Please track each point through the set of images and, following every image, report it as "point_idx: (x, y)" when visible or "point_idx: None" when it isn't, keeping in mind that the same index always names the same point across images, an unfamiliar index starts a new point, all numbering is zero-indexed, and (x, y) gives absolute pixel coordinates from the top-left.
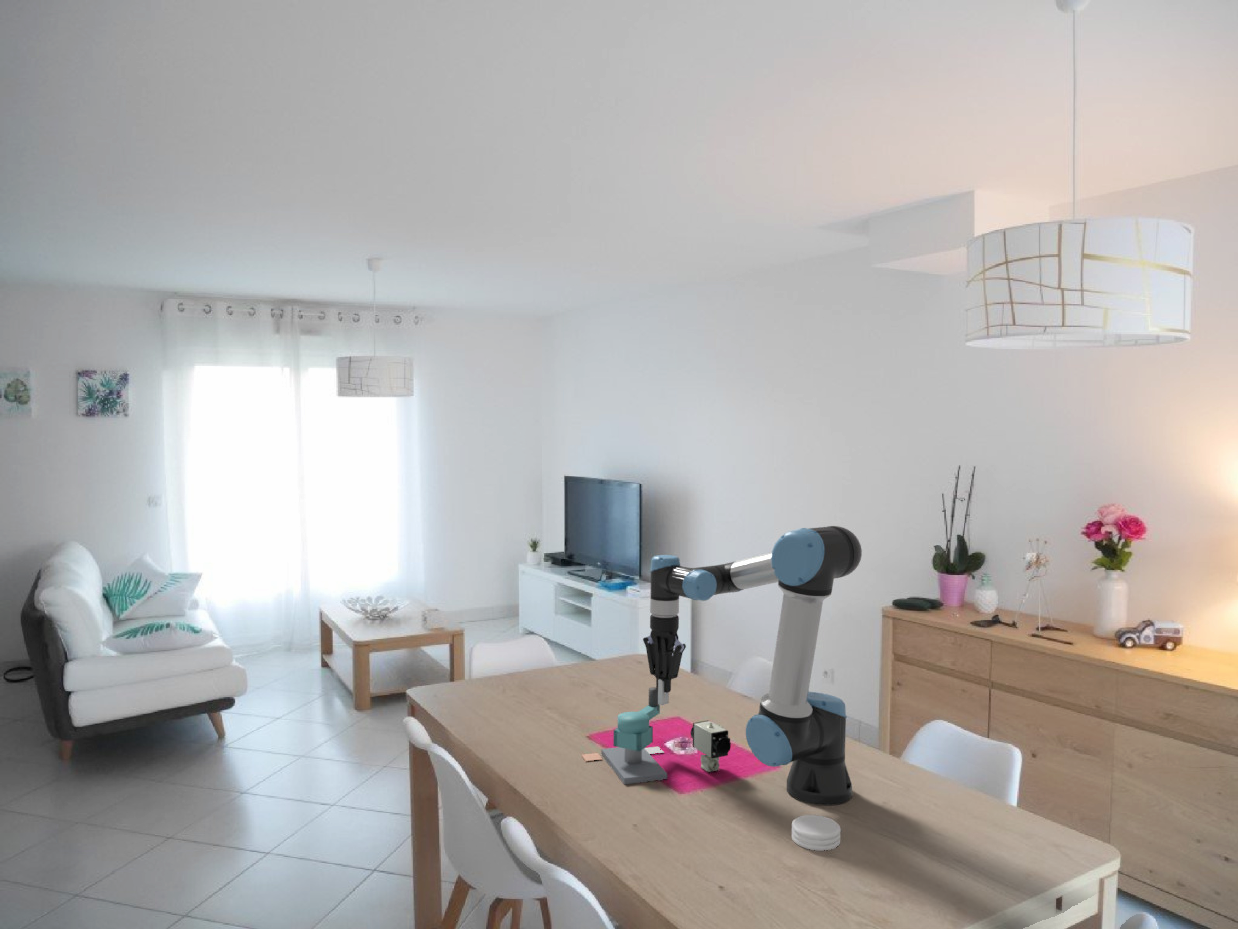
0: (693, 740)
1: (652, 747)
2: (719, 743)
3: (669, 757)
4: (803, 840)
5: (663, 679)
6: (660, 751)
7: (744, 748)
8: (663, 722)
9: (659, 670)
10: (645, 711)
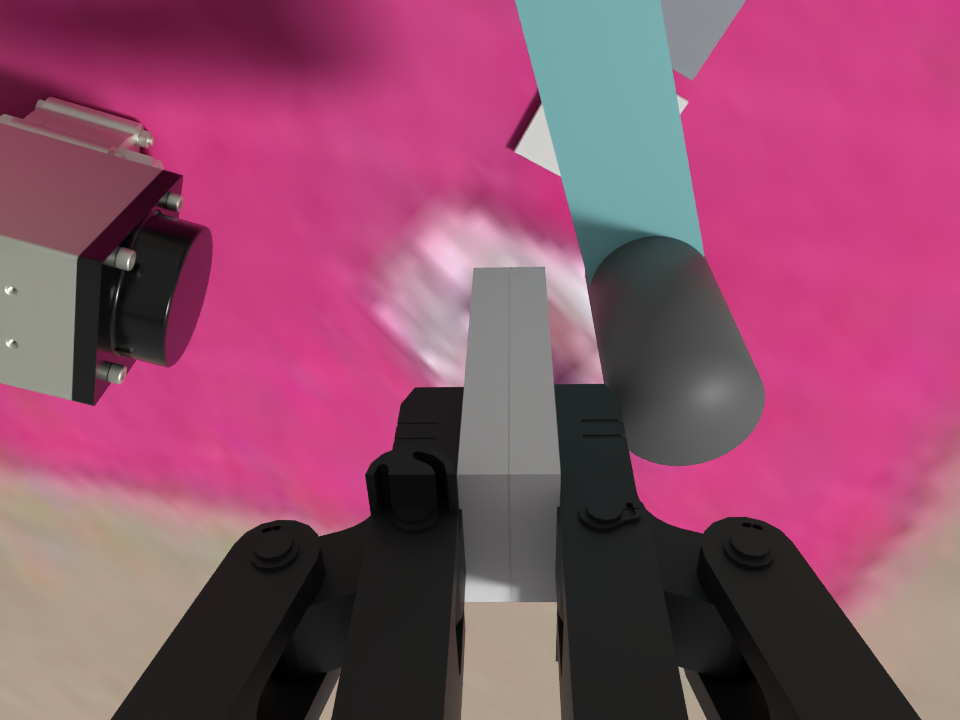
0: (152, 193)
1: None
2: None
3: (438, 122)
4: None
5: (393, 473)
6: (544, 146)
7: (249, 515)
8: (851, 523)
9: (567, 629)
10: (582, 49)
